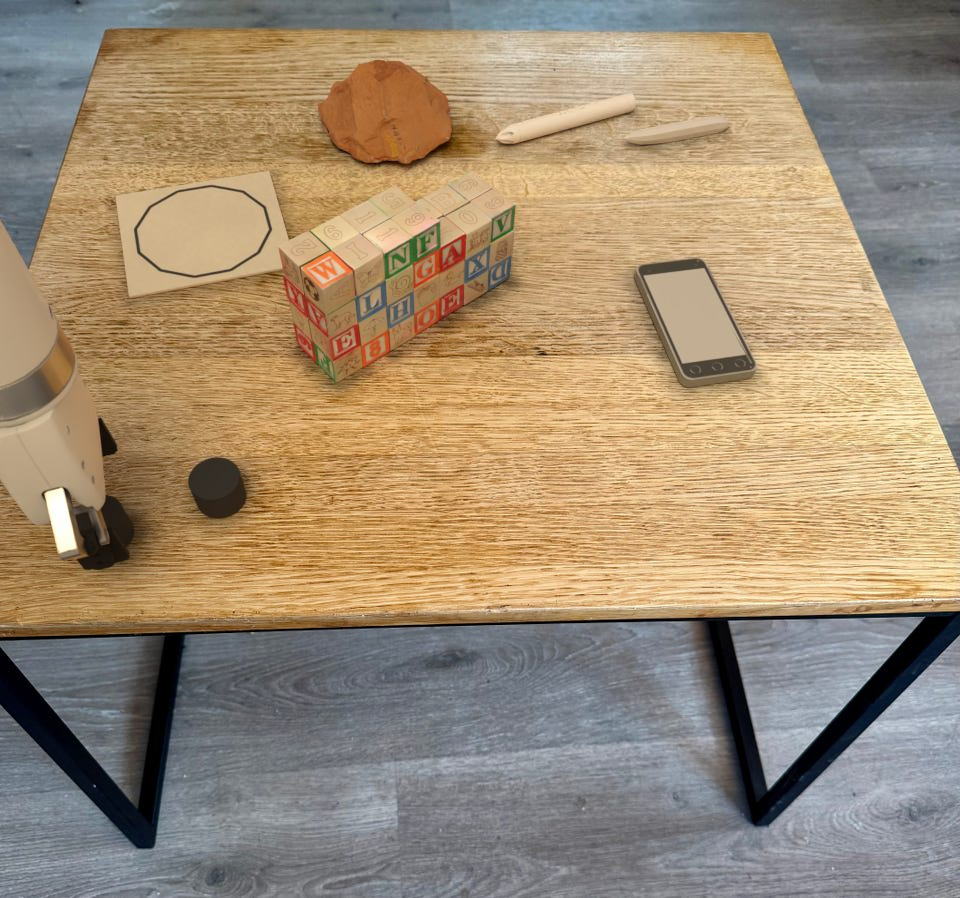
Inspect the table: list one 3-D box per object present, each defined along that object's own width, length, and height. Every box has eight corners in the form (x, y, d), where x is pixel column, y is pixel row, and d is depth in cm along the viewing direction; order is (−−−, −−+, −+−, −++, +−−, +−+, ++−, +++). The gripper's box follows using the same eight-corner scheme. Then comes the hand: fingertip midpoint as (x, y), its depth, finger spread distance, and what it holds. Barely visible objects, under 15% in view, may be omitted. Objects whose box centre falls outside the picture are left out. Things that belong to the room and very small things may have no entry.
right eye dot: (199, 524, 70) (191, 504, 68) (193, 483, 72) (184, 463, 70) (250, 511, 71) (243, 492, 68) (242, 472, 73) (235, 451, 71)
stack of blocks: (469, 244, 90) (474, 142, 79) (511, 279, 87) (521, 177, 77) (295, 344, 81) (275, 243, 71) (335, 385, 79) (321, 287, 68)
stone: (462, 176, 99) (446, 128, 90) (339, 204, 101) (310, 159, 91) (443, 63, 103) (425, 4, 93) (324, 92, 104) (294, 37, 95)
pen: (617, 143, 100) (620, 131, 99) (725, 123, 103) (729, 111, 102) (623, 152, 99) (626, 139, 98) (731, 131, 103) (735, 119, 101)
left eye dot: (83, 563, 68) (70, 545, 65) (79, 520, 70) (66, 501, 67) (136, 550, 68) (125, 532, 66) (131, 508, 71) (121, 488, 68)
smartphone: (684, 380, 79) (633, 265, 87) (682, 388, 80) (631, 273, 88) (760, 369, 80) (703, 256, 88) (756, 377, 81) (700, 264, 89)
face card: (129, 298, 83) (128, 296, 83) (115, 197, 91) (114, 194, 91) (296, 267, 87) (296, 264, 86) (269, 172, 95) (269, 170, 94)
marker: (499, 152, 98) (500, 134, 96) (490, 141, 99) (491, 123, 97) (634, 114, 104) (638, 96, 102) (625, 104, 105) (628, 86, 103)
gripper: (-61, 274, 56) (45, 428, 70) (-67, 498, 47) (57, 623, 61) (61, 250, 57) (141, 406, 71) (79, 463, 48) (166, 593, 62)
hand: (102, 506), depth 66 cm, fingers open, 9 cm apart
